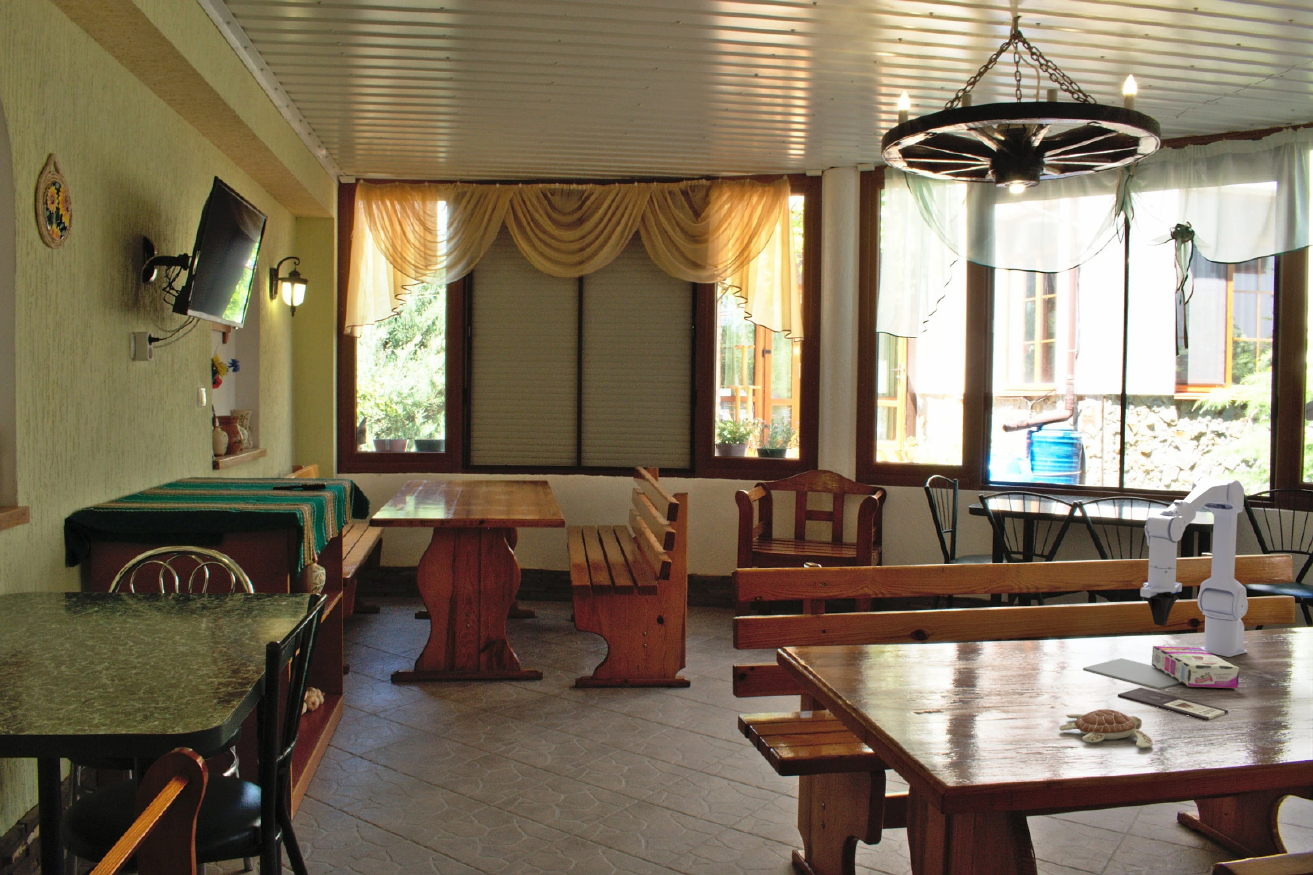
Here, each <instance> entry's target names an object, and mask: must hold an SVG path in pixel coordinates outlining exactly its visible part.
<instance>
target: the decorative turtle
mask: <svg viewBox="0 0 1313 875" xmlns="http://www.w3.org/2000/svg"><path fill="white" fill-rule="evenodd" d="M1065 716H1066V718H1068V719H1075V720H1074V722H1071V723H1066V724H1062V725H1060V726H1059V727H1058V729H1059V730H1060V731H1069V730H1079V731H1080V732H1081V734H1082V735H1084V736H1082V740H1083V741H1085V742H1087V743H1100V742H1101V741H1103V740H1119V739H1123V738H1128V737H1131V736H1132V735H1133V736H1135V738H1136V739H1137V741H1136V744H1135V745H1136V747H1137V748H1140V749H1144V748H1150V747H1152V746H1153V745H1154V742H1153V740H1152V738H1151V737H1150V736H1148V734H1146V733H1144V732H1143V731H1141V730H1140V729H1141V728H1142V724H1143V723H1142V722H1143V721H1142V719H1141V718H1139V717H1137V716H1134V715H1130V716H1129V715H1128V714H1127V715H1126V714H1124V713H1122V712H1121V711H1118V710H1113V709H1108V708H1107V709H1096V710H1094V711H1093V710H1092V711H1089V712H1088V713H1085V714H1084V713H1083V714H1082V713H1081V714H1080V713H1074V714H1073V713H1072V714H1070V713H1069V714H1065Z"/></svg>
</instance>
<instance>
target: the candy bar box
mask: <svg viewBox="0 0 1313 875" xmlns="http://www.w3.org/2000/svg"><path fill="white" fill-rule="evenodd" d="M1151 666H1154V667H1156V668H1157V669H1159V670H1161V671H1163V672H1164V673H1166V674H1168V675H1170V676H1171V677H1173V678H1174V679H1176V680H1178V681H1179V682H1181V683H1180V684H1183V685H1184V686H1187V687H1190V688H1219V689H1220V688H1222V689H1238V688H1239V675H1240V667H1238V666H1236V665H1234V664H1233V663H1230V662H1228V661H1227V660H1225V659H1223V658H1221V657H1219V656H1218V655H1217V656H1216V654H1213V653H1209V652H1207V651H1205V650H1203V649H1201V648H1199V647H1189V646H1188V647H1187V646H1186V647H1185V646H1161V645H1160V646H1159V645H1152V655H1151Z"/></svg>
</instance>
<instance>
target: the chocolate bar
mask: <svg viewBox="0 0 1313 875" xmlns="http://www.w3.org/2000/svg"><path fill="white" fill-rule="evenodd" d="M1117 698H1122V699H1125V700H1128V701H1133V702H1135V703H1139V702H1140V703H1139V704H1144V705H1146V706H1150V707H1153V706H1154V707H1153V708H1157V707H1158V708H1157V709H1161V710H1164V711H1168V710H1170V711H1169V712H1171V711H1173V712H1172V713H1175V712H1176V713H1175V714H1180V715H1182V716H1186V715H1189V716H1191V717H1190V718H1193V717H1194V718H1193V719H1197V720H1200V719H1202V720H1201V721H1204V720H1206V721H1209V720H1213V719H1215V718H1217V716H1218V717H1221V716H1223V715H1226V713H1227V714H1228V713H1229V710H1228V709H1225V708H1222V707H1217V706H1212V705H1210V704H1209V705H1208V704H1205V703H1201V702H1198V701H1195V700H1194V701H1193V700H1190V699H1188V698H1187V699H1186V698H1182V697H1179V696H1175V695H1171V694H1168V693H1164V692H1160V691H1156V690H1151V689H1148V688H1144V687H1137V688H1135V689H1131V690H1128V691H1124V692H1121V693H1117ZM1220 715H1221V716H1220ZM1189 716H1188V717H1189ZM1214 717H1215V718H1214ZM1208 719H1209V720H1208Z"/></svg>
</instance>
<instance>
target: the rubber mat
mask: <svg viewBox="0 0 1313 875" xmlns="http://www.w3.org/2000/svg"><path fill="white" fill-rule="evenodd" d="M1082 670H1083V671H1087V672H1092V673H1096V674H1100V675H1103V676H1106V677H1110V678H1114V679H1118V680H1120V681H1121V680H1122V681H1126V682H1130V683H1134V684H1137V685H1141V686H1145V687H1149V688H1153V689H1156V690H1163V689H1166V688H1170V687H1173V685H1174V686H1177V685H1180V684H1182V683H1181V682H1179V681H1178V680H1176V679H1174V678H1173V677H1171V676H1170V675H1168V674H1166V673H1164V672H1163V671H1161V670H1159V669H1157V668H1156V667H1154V666H1152V664H1148V663H1147V664H1146V663H1142V662H1139V661H1135V660H1132V659H1127V658H1122V657H1121V658H1118V659H1112V660H1109V661H1105V662H1101V663H1098V664H1093V665H1089V666H1085V667H1082Z"/></svg>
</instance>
